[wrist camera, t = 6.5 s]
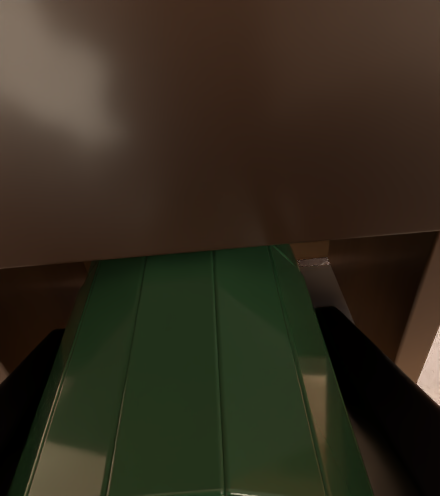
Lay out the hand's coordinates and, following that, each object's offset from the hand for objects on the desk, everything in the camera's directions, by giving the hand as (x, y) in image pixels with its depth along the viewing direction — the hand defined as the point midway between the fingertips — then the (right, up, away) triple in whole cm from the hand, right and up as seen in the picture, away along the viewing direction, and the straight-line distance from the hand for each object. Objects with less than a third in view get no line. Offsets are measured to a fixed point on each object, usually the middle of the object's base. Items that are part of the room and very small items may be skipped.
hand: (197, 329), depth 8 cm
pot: (0, +1, +1) cm, 1 cm away
